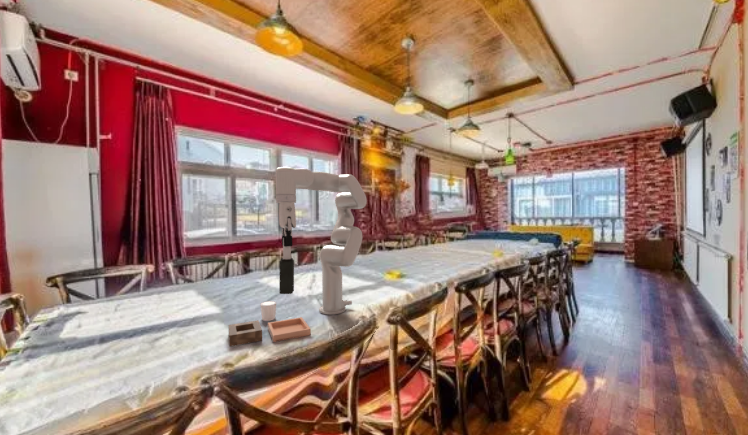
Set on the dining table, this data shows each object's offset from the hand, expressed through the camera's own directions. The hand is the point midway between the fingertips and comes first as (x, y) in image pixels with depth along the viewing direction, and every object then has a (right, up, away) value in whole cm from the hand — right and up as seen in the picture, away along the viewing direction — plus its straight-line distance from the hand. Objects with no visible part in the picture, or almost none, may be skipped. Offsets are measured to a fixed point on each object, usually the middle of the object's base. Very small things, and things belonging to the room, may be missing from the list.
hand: (287, 245), depth 122 cm
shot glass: (-13, -34, +16) cm, 40 cm away
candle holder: (-15, -35, -4) cm, 38 cm away
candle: (0, -19, +1) cm, 19 cm away
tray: (0, -35, +1) cm, 35 cm away
